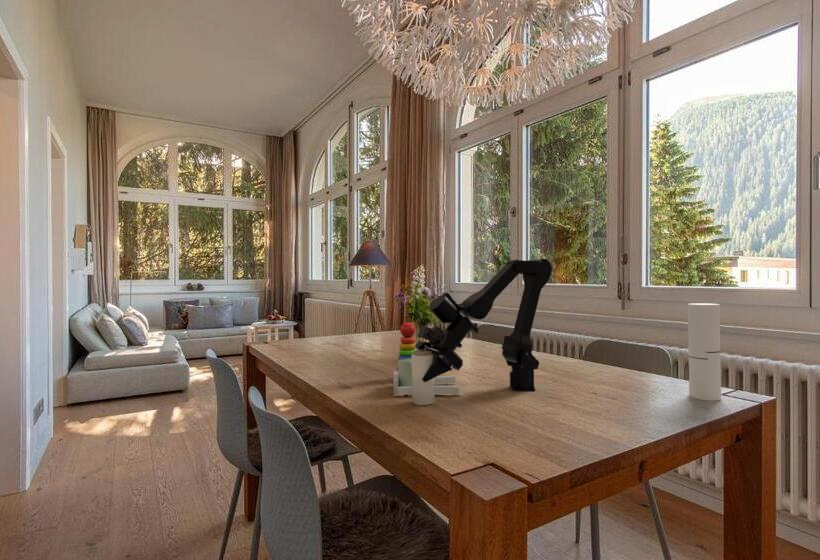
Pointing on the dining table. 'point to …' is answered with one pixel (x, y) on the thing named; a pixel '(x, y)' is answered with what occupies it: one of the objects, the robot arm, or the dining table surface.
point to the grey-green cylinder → (405, 372)
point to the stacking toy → (407, 341)
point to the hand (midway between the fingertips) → (418, 378)
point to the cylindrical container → (704, 351)
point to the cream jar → (420, 365)
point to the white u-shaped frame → (437, 389)
